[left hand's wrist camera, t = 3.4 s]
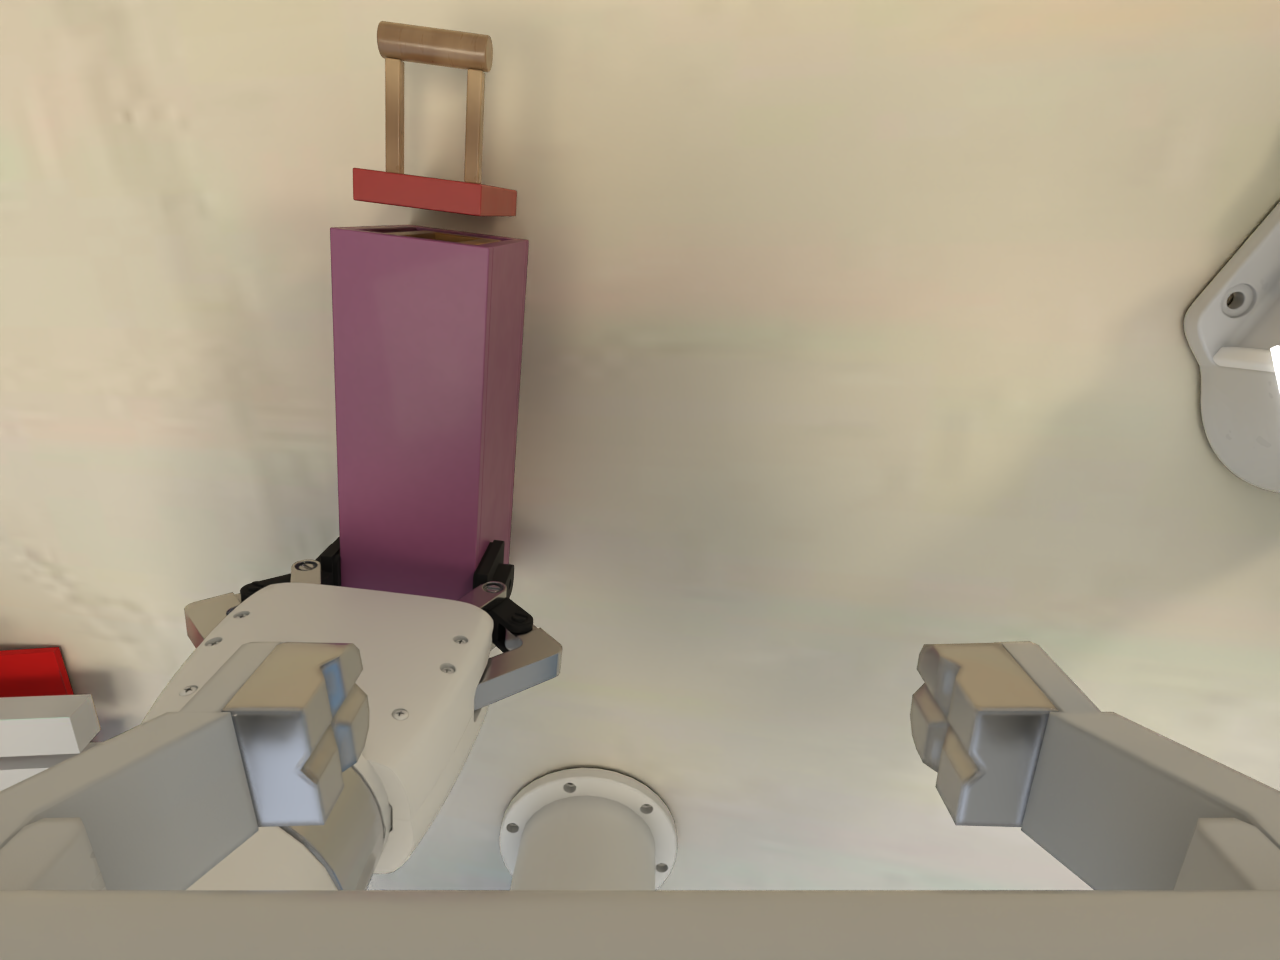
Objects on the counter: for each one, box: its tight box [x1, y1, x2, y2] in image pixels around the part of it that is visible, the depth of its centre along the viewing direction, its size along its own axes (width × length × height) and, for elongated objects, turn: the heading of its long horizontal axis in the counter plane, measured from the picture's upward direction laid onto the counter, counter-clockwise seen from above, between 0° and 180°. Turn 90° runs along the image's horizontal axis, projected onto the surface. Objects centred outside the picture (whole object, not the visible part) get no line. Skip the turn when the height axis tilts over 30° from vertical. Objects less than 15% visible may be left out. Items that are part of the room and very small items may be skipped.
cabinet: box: [330, 225, 529, 601], centre depth 36 cm, size 19×6×9 cm, turn 173°
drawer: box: [353, 21, 517, 245], centre depth 34 cm, size 24×5×8 cm, turn 173°
